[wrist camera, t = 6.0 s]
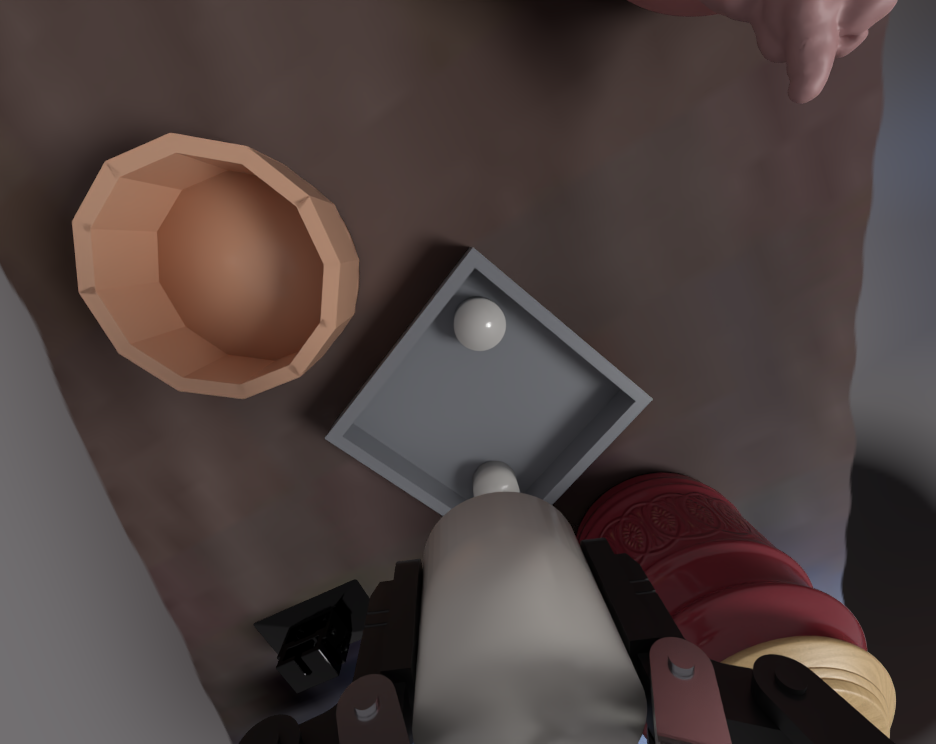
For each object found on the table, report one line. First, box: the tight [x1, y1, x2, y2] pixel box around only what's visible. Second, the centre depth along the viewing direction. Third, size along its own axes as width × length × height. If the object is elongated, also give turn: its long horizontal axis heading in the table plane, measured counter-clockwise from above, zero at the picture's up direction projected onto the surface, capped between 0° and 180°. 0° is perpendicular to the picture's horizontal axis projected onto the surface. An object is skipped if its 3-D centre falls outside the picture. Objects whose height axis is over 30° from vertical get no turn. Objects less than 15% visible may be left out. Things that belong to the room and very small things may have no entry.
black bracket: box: [254, 580, 370, 693], centre depth 34 cm, size 12×7×5 cm, turn 116°
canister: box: [576, 473, 896, 739], centre depth 26 cm, size 13×13×18 cm
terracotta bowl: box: [72, 133, 360, 399], centre depth 24 cm, size 13×13×6 cm
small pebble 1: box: [454, 296, 506, 351], centre depth 27 cm, size 3×3×2 cm
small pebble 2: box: [472, 461, 520, 497], centre depth 31 cm, size 3×3×2 cm
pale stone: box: [412, 492, 647, 744], centre depth 11 cm, size 5×5×5 cm
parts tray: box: [325, 247, 653, 516], centre depth 29 cm, size 15×15×3 cm
